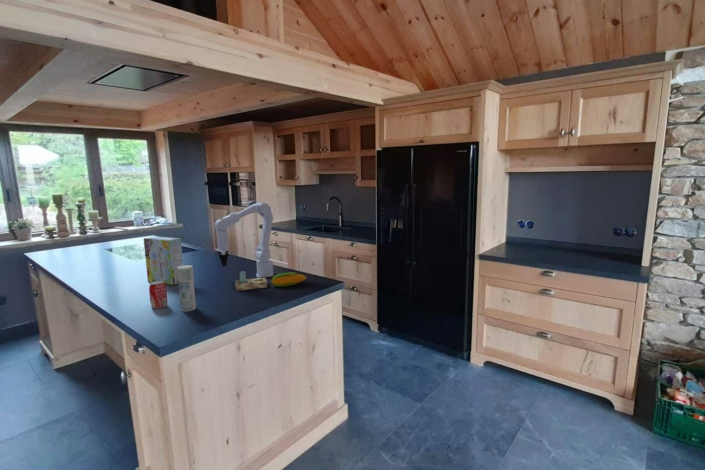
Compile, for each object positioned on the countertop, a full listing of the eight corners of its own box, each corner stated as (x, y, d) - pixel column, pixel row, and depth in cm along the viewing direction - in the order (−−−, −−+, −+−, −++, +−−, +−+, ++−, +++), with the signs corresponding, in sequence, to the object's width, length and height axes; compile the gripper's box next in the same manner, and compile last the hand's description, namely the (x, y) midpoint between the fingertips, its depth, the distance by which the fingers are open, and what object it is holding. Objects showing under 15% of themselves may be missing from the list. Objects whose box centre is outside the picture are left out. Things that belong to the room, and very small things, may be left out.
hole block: (265, 283, 209) (265, 277, 209) (267, 287, 202) (266, 281, 201) (235, 286, 204) (235, 280, 203) (236, 291, 196) (235, 284, 196)
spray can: (198, 306, 175) (194, 264, 171) (193, 311, 168) (189, 268, 165) (184, 306, 175) (180, 265, 171) (178, 311, 168) (174, 268, 165)
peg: (241, 287, 203) (240, 271, 202) (247, 287, 203) (246, 271, 201) (239, 288, 200) (238, 272, 199) (245, 289, 200) (244, 272, 198)
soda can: (155, 304, 178) (152, 280, 176) (170, 303, 178) (168, 279, 176) (148, 309, 171) (145, 284, 169) (164, 309, 171) (161, 284, 169)
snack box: (186, 282, 214) (182, 237, 210) (173, 286, 206) (168, 240, 202) (159, 277, 223) (155, 235, 219) (146, 281, 215) (141, 237, 211)
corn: (269, 272, 204) (304, 268, 212) (269, 285, 205) (304, 280, 214) (272, 276, 197) (308, 272, 205) (272, 290, 199) (308, 285, 207)
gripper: (214, 239, 214) (216, 262, 216) (214, 243, 200) (216, 268, 203) (227, 238, 216) (229, 261, 218) (228, 242, 203) (230, 267, 205)
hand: (224, 264), depth 211 cm, fingers open, 7 cm apart
